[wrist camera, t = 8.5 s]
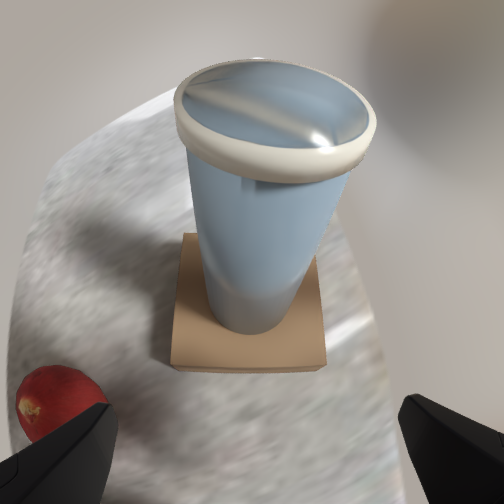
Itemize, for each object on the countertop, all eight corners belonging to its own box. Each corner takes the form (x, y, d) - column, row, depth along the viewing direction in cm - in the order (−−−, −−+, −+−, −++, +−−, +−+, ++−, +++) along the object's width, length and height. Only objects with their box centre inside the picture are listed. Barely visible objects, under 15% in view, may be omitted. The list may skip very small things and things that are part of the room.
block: (315, 371, 18) (326, 364, 16) (178, 370, 18) (170, 364, 15) (305, 254, 23) (312, 235, 21) (188, 251, 22) (183, 232, 20)
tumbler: (302, 329, 17) (413, 157, 6) (211, 344, 16) (170, 165, 5) (282, 253, 20) (330, 63, 9) (200, 263, 19) (176, 63, 8)
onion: (55, 441, 13) (-21, 437, 7) (63, 368, 17) (-8, 335, 10) (127, 465, 14) (65, 486, 7) (133, 385, 17) (75, 362, 10)
